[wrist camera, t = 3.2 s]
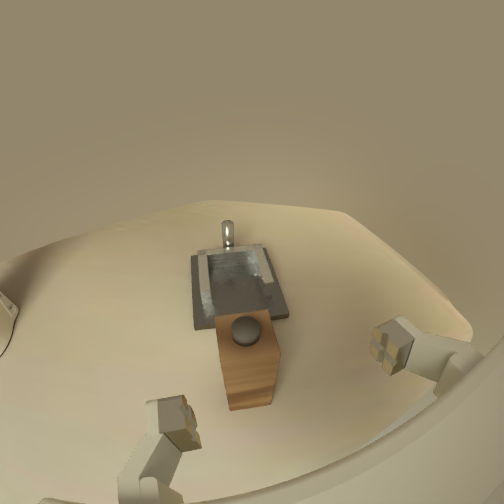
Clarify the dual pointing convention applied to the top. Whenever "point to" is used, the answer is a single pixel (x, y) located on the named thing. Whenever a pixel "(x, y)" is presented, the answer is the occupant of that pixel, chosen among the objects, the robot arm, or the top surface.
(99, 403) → the top surface
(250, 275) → the keeper bracket
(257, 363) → the walnut toggle block
